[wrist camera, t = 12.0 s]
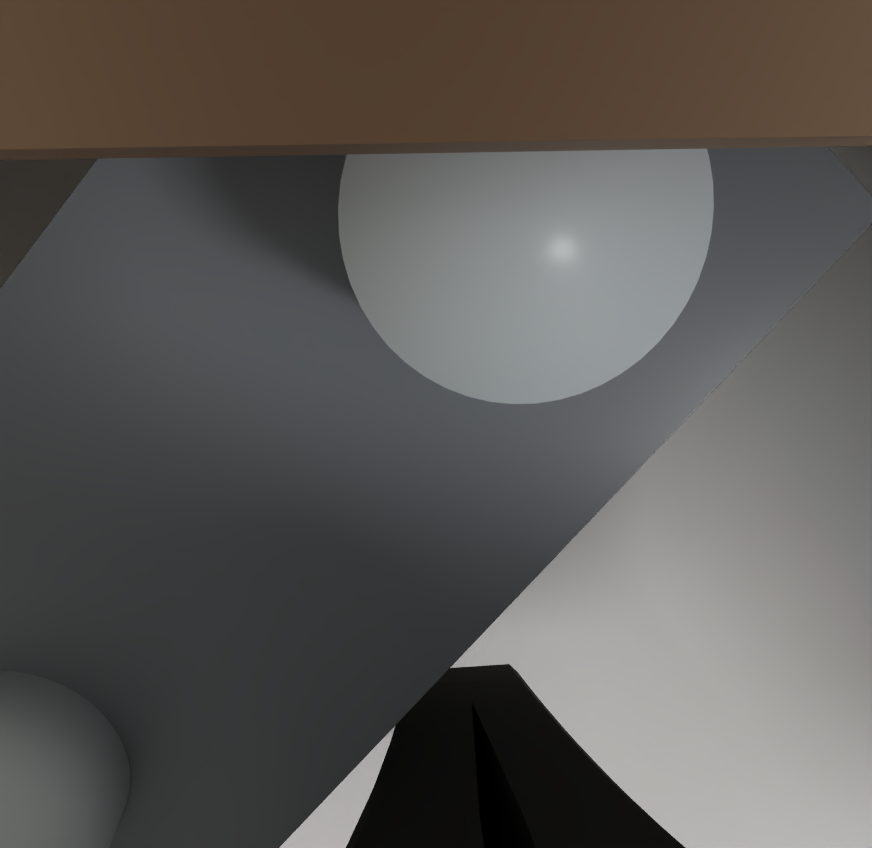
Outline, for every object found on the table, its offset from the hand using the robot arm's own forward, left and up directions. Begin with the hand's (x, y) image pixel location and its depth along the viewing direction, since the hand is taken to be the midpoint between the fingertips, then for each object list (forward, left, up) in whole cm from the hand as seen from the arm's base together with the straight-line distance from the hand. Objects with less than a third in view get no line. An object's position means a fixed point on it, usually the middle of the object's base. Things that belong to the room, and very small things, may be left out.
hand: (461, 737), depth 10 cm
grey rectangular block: (+2, -4, -2) cm, 5 cm away
